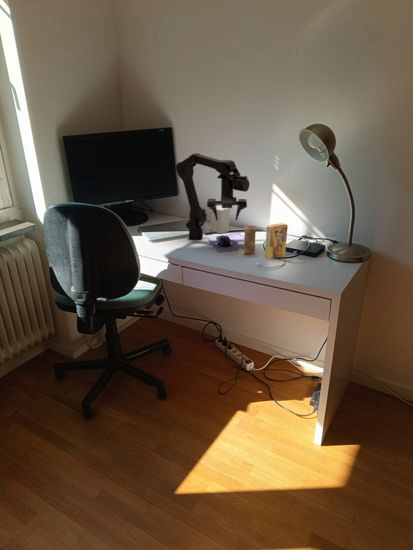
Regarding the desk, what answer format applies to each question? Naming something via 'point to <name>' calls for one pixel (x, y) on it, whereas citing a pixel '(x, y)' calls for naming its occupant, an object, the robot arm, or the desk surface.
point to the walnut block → (249, 240)
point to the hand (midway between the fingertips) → (226, 220)
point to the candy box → (276, 240)
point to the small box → (220, 220)
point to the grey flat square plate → (241, 254)
